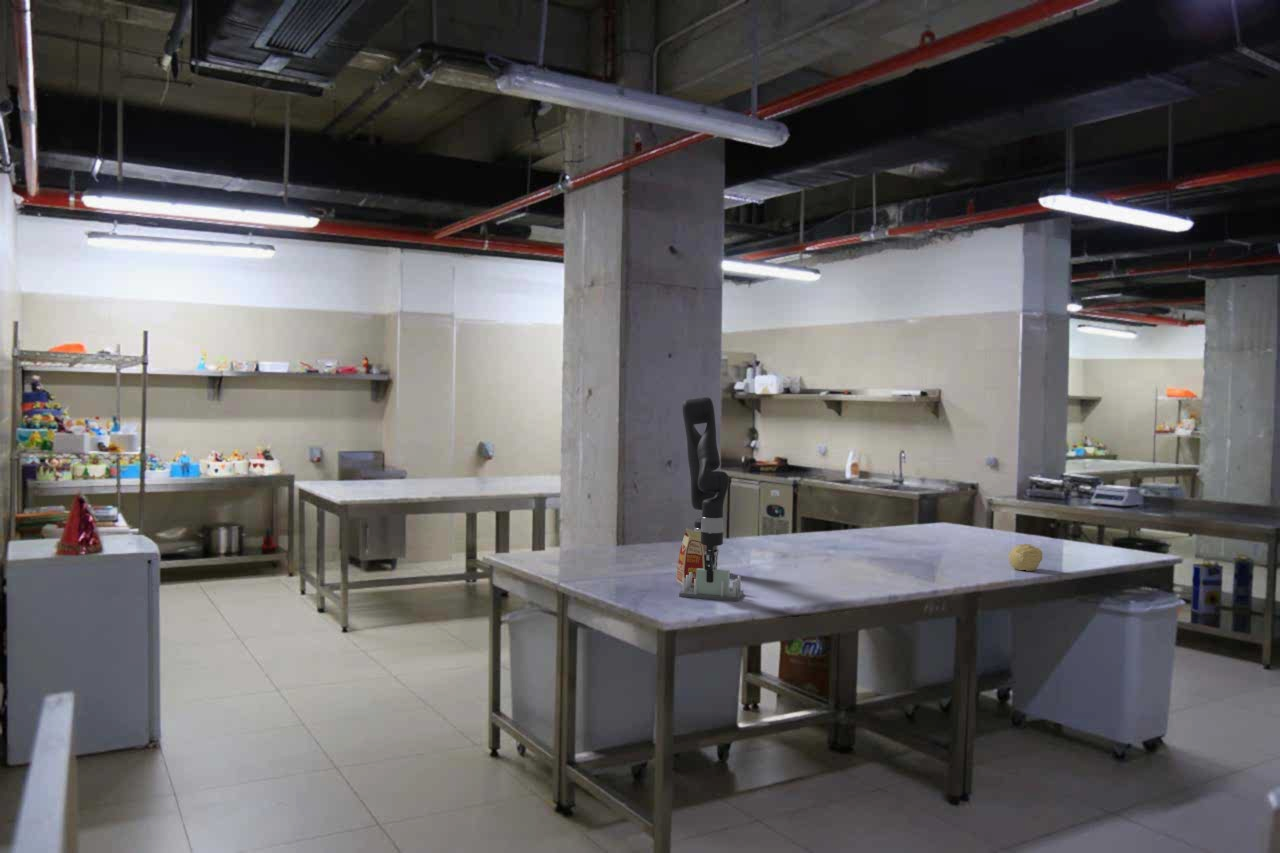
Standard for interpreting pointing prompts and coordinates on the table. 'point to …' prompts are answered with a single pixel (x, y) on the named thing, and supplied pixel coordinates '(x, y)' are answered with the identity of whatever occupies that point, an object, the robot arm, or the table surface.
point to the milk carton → (690, 555)
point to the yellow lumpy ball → (1025, 557)
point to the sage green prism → (715, 586)
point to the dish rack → (692, 593)
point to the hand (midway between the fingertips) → (710, 581)
